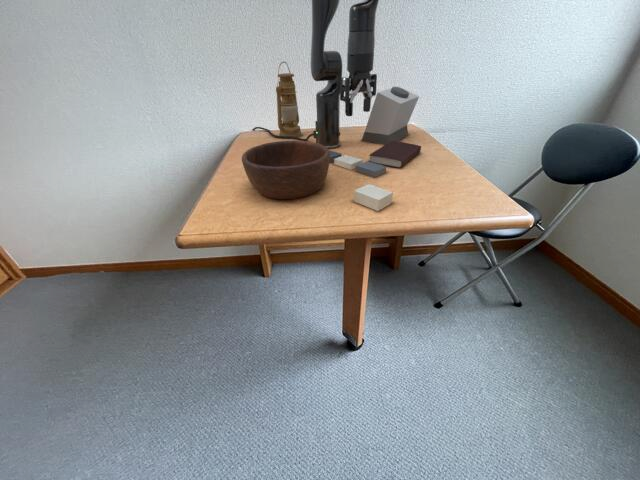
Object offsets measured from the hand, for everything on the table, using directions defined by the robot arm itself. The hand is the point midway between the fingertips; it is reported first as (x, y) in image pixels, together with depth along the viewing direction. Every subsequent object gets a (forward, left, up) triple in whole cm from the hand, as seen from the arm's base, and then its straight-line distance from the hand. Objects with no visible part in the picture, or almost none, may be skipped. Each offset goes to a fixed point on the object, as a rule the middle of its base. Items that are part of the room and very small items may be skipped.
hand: (357, 113), depth 87 cm
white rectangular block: (+22, -18, -17) cm, 33 cm away
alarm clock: (-12, +37, -17) cm, 42 cm away
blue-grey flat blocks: (-2, -1, -17) cm, 17 cm away
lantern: (-50, +11, -17) cm, 54 cm away
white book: (-2, -1, -17) cm, 17 cm away
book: (+6, +16, -17) cm, 24 cm away
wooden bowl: (-3, -27, -17) cm, 32 cm away
